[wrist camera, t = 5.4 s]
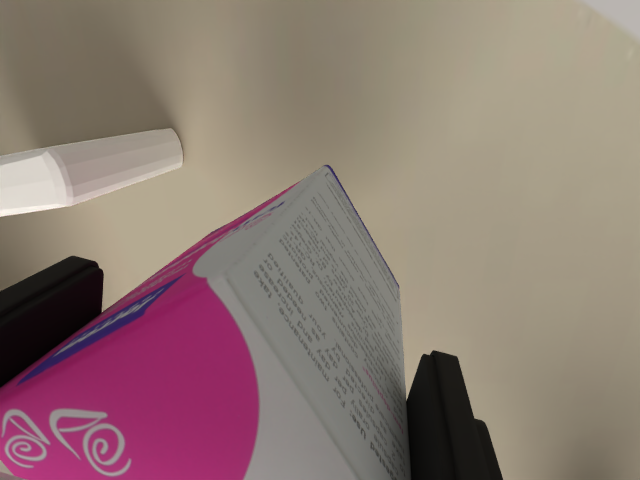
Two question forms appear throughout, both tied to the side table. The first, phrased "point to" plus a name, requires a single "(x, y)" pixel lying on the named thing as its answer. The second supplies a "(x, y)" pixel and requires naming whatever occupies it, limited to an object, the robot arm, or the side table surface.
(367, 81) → the side table surface
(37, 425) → the supplement box
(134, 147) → the perfume bottle
